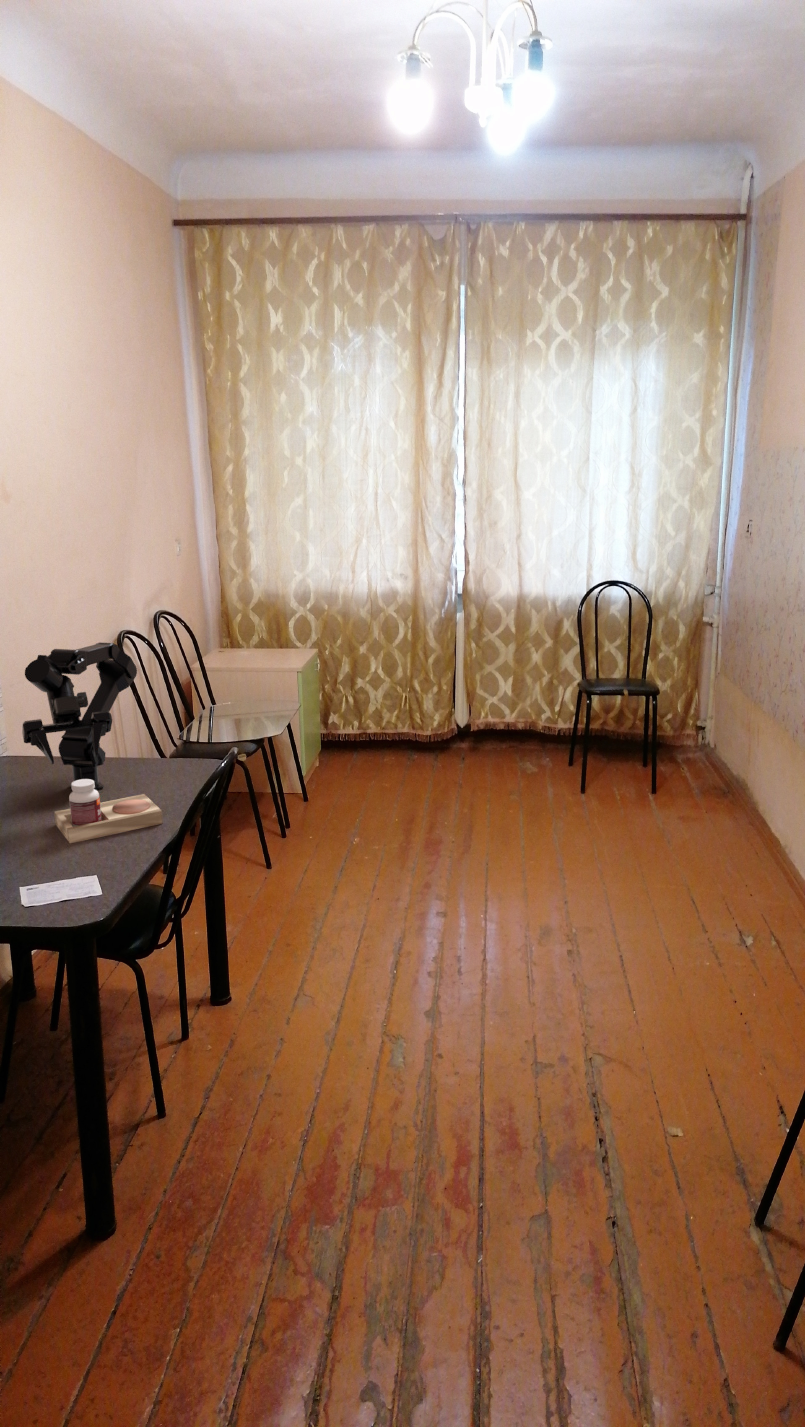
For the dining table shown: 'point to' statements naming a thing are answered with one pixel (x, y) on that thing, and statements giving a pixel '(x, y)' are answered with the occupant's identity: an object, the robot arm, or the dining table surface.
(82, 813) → the pill bottle
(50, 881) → the dining table surface
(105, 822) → the board
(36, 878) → the dining table surface
